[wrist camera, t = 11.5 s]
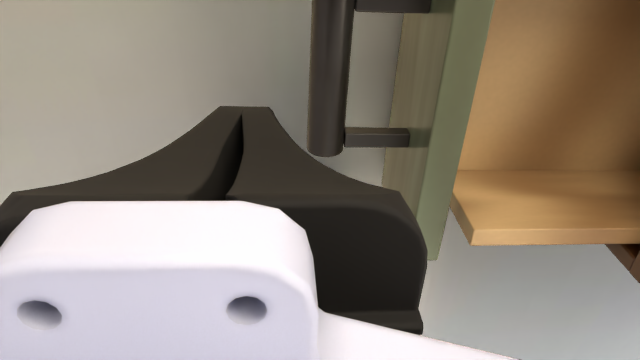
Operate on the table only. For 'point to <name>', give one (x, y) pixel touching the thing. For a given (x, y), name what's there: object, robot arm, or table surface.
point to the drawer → (498, 115)
